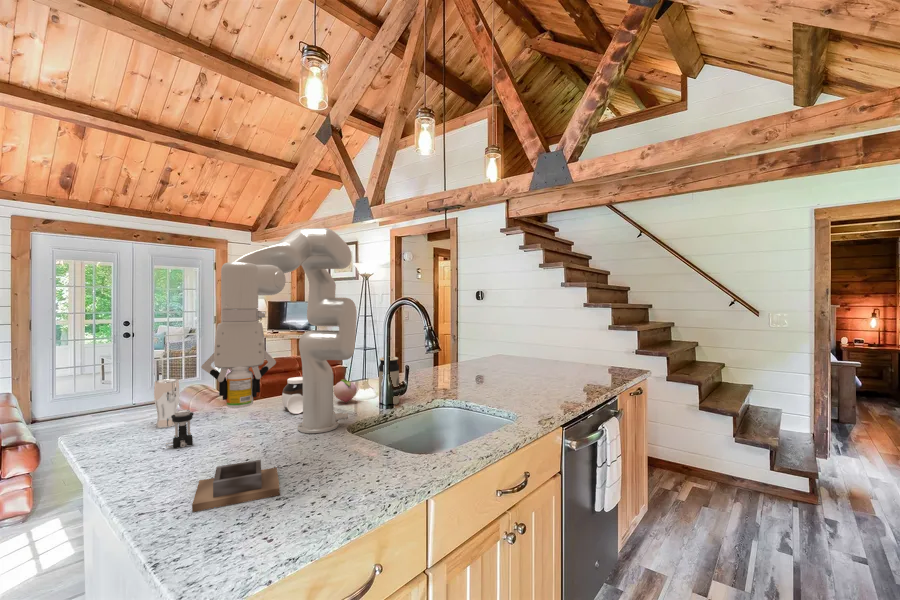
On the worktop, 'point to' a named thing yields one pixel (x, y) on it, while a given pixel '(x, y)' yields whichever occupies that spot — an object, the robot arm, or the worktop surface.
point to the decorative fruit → (345, 390)
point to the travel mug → (393, 372)
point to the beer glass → (166, 401)
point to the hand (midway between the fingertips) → (240, 396)
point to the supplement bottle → (239, 387)
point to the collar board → (236, 485)
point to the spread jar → (293, 395)
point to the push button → (182, 429)
